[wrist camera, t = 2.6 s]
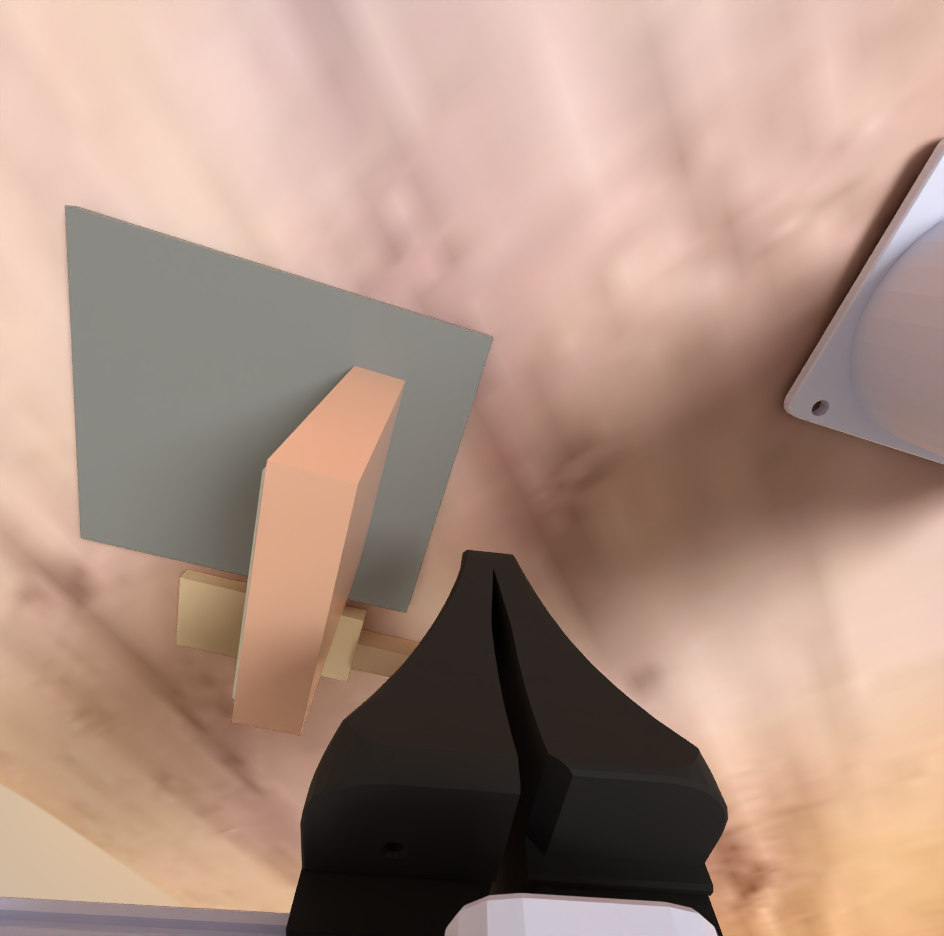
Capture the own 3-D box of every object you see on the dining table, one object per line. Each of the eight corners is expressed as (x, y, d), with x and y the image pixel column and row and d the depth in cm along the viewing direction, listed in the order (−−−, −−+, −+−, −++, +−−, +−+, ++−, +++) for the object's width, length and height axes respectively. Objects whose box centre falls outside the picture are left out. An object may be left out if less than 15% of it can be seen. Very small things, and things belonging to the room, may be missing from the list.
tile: (405, 381, 15) (357, 483, 9) (360, 559, 18) (299, 735, 11) (349, 364, 15) (258, 457, 8) (313, 547, 18) (225, 720, 11)
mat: (492, 336, 15) (492, 338, 14) (407, 605, 19) (406, 612, 19) (76, 206, 13) (64, 205, 13) (88, 531, 18) (80, 538, 17)
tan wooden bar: (574, 659, 20) (578, 674, 20) (545, 713, 22) (547, 729, 21) (188, 567, 19) (176, 581, 18) (184, 633, 20) (173, 648, 19)
